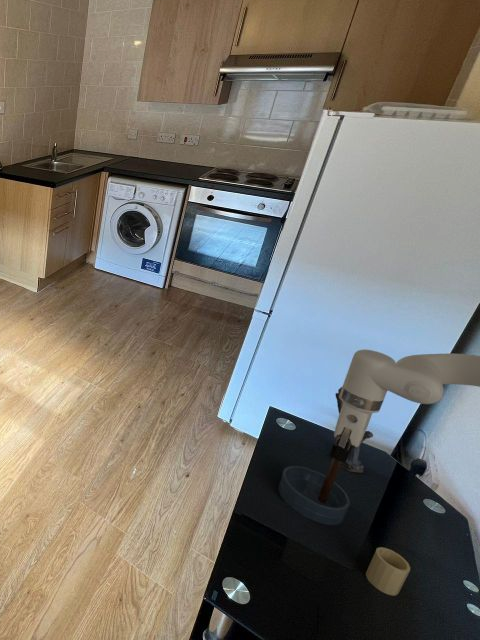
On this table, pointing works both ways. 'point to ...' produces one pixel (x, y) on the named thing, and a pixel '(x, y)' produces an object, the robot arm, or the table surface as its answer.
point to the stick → (329, 480)
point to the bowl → (312, 495)
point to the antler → (352, 459)
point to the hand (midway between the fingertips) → (338, 456)
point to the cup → (387, 571)
